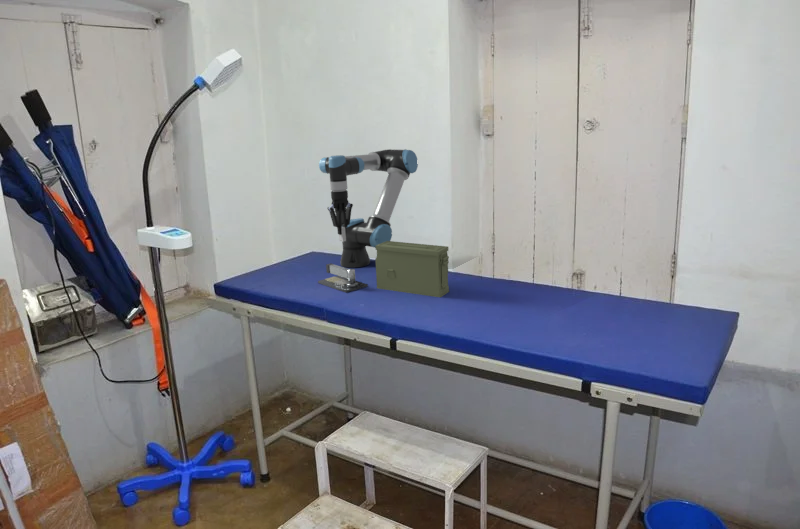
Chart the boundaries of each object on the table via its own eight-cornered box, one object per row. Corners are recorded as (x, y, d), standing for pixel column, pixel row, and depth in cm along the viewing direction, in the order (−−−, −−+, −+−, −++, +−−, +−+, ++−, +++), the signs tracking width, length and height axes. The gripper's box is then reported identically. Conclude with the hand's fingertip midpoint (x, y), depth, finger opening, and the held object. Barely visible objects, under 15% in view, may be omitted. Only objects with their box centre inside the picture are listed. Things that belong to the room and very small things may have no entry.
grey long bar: (357, 282, 268) (356, 269, 266) (351, 283, 266) (350, 270, 264) (332, 274, 282) (331, 262, 280) (326, 276, 280) (325, 263, 278)
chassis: (339, 277, 286) (338, 272, 285) (367, 286, 270) (367, 281, 269) (318, 283, 278) (317, 278, 278) (346, 292, 262) (345, 287, 262)
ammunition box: (442, 298, 250) (441, 251, 244) (375, 288, 266) (373, 244, 261) (452, 291, 258) (451, 246, 252) (387, 282, 274) (385, 240, 269)
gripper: (346, 187, 279) (349, 237, 285) (322, 191, 270) (326, 242, 277) (355, 189, 273) (359, 239, 280) (331, 192, 265) (335, 244, 271)
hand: (342, 240), depth 278 cm, fingers closed
